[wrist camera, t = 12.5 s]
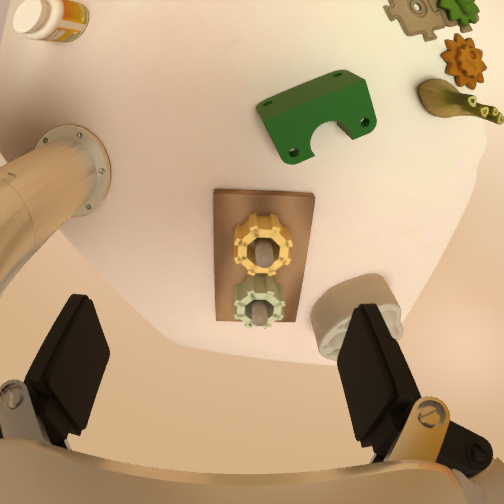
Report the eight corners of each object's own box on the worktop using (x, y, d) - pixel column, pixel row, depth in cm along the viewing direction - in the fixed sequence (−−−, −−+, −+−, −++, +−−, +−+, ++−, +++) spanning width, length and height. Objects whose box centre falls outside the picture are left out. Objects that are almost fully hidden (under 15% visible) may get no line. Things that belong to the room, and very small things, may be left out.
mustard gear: (235, 211, 37) (234, 224, 34) (291, 213, 38) (295, 226, 34) (234, 259, 41) (233, 275, 38) (285, 260, 41) (289, 276, 38)
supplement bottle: (68, -1, 23) (24, -13, 14) (97, 10, 24) (56, -4, 16) (47, 35, 25) (0, 33, 17) (75, 47, 27) (30, 45, 18)
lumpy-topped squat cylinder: (390, 312, 49) (408, 349, 41) (319, 339, 51) (329, 379, 44) (381, 266, 44) (403, 303, 36) (301, 297, 46) (311, 339, 39)
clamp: (284, 129, 38) (270, 171, 33) (264, 90, 34) (246, 126, 29) (375, 110, 32) (382, 151, 27) (361, 65, 28) (368, 96, 23)
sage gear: (233, 310, 45) (233, 328, 42) (234, 273, 42) (233, 289, 39) (279, 311, 46) (281, 328, 42) (284, 274, 42) (287, 290, 39)
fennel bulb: (407, 91, 31) (465, 103, 20) (428, 67, 29) (489, 73, 19) (433, 123, 33) (492, 147, 22) (453, 100, 31) (514, 117, 20)
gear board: (216, 314, 48) (213, 347, 42) (214, 189, 37) (209, 212, 31) (294, 315, 48) (300, 348, 42) (312, 193, 38) (325, 217, 32)
